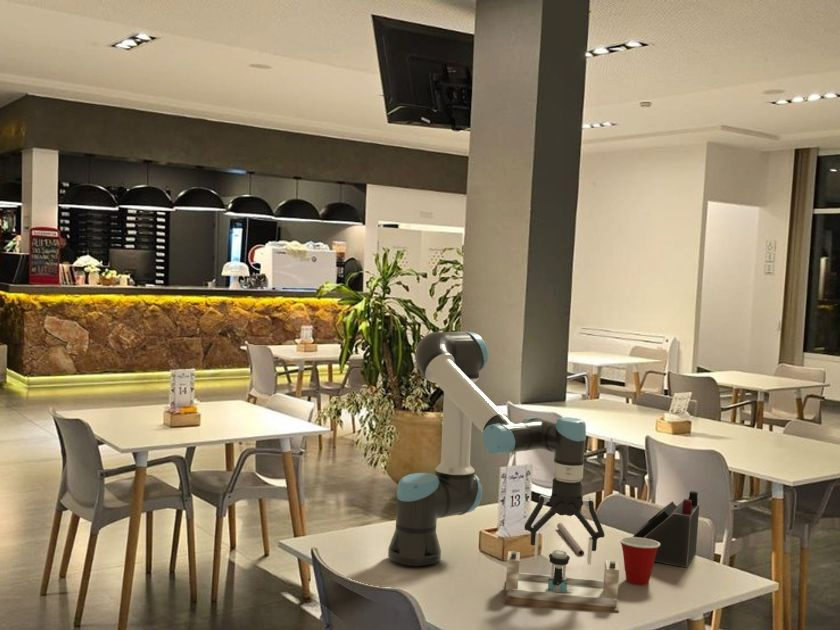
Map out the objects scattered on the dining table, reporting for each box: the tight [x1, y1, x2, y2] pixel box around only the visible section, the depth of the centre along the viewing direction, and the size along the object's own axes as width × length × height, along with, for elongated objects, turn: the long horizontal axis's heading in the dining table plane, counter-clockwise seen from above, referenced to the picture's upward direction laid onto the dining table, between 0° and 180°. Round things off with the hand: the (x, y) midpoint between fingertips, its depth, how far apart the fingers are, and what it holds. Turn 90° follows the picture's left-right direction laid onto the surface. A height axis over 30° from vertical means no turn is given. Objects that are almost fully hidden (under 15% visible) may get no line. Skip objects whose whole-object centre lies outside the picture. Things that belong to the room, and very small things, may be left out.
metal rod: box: [556, 522, 585, 556], centre depth 279 cm, size 2×27×2 cm, turn 4°
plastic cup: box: [619, 536, 660, 586], centre depth 244 cm, size 11×11×12 cm
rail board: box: [504, 550, 620, 613], centre depth 231 cm, size 28×17×11 cm, turn 82°
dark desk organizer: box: [632, 490, 700, 568], centre depth 266 cm, size 16×16×20 cm
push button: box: [548, 549, 573, 592], centre depth 231 cm, size 7×5×10 cm
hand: (562, 560), depth 231 cm, fingers open, 13 cm apart
